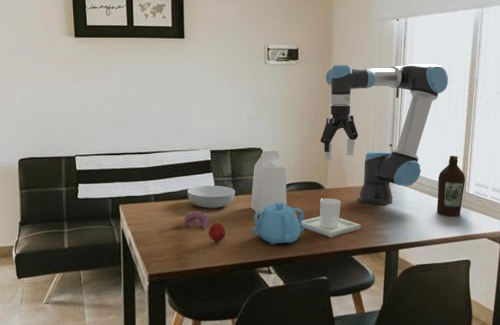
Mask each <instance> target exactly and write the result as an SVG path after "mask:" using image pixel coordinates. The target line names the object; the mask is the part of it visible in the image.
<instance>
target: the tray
mask: <svg viewBox="0 0 500 325" xmlns="http://www.w3.org/2000/svg"><path fill="white" fill-rule="evenodd" d="M320 220H321V219H320V216H316V217H312V218H308V219H303V220H302V223H301V224H303V225H304V230H305V229H306V230H308V231H311V232H314V233H317V234H320V235H321V236H325V237H328V238H334V237H337V236H340V235H344V234H348V233H352V232H356V231H359V230H361V227H362V224H360V223H356V222H353V221H350V220H347V219H344V218H340V217H339V220H338V227H337V228H331V229H330V228H324V227H322V226H320ZM300 228H302V226H300Z"/></svg>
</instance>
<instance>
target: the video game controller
mask: <svg viewBox="0 0 500 325" xmlns="http://www.w3.org/2000/svg"><path fill="white" fill-rule="evenodd" d="M210 219H211V218H210V216H209V215H208V214H207V213H205V212H202V211H196V210H195V211H189V212H188V213H187V214H185V217H184V219H183V222H182V224H181V225H182V228H186V227H187V225H188V224H189V225H190V226H191V227H195V226H197V227H198V228H202V230H203V231H205V230H206V229H207V227H208V225H209V223H210ZM196 220H198V222H197V221H196Z"/></svg>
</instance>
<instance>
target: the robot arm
mask: <svg viewBox="0 0 500 325" xmlns="http://www.w3.org/2000/svg"><path fill="white" fill-rule="evenodd" d="M325 81H326V83H327V84H328V85H329V86H330V92H331V93H330V104H331V105H330V114H331V116H332V117H331V118H330V117H329V118H328V117H327V118H326V120H325V122H326V123H325V126H324V129H323V132H322V134H321V138H320V143H322V144H323V147H324V148H323V151H324V160H325V161H332V145H333V144H332V143H331V142H332V140H333V139H334V136H335V135H336V132H337V131H339V130H340V129H343V131H344V133H345V134H346V137H348V139H347V142H346V146H347V147H346V155H347V156H354V147H355V140H357V138H358V137H359V134H358V130H357V127H356V124H355V120H354V119H355V118H354V115H351V114H350V113H351V106H350V104H351V91H352V90H357V89H369V88H372V87H389V88H391V89H404V90H408V91H410V92H409V93H410V94H411V96H412V97H411V100H410V103H409V107H408V109H407V113H406V117H405V119H404V123H403V127H402V129H401V133H400V137H399V140H398V144H397V146H396V148H395V149H394V150H392V151H387V150H386V151H385V150H384V151H381V150H380V151H378V150H377V151H369V152H367V153H366V155H365V158H364V159H365V160H364V175H363V185H362V186H361V189H360V192H359V195H358V200H359V201H361V202H363V203H367V204H372V205H388V204H392V203H393V195H392V191H391V185H390V183H391V184H394V185H397V186H403V187H409V186H412V185H413V184H415V183H416V182H417V181H418V179H419V178H420V175H421V171H422V170H421V165H420V163H419V162H418V161H419V156H418V155H417V153H418V149H419V146H420V144H421V143H420V142H421V139H422V136H423V132H424V129H425V126H426V122H427V120H428V116H429V114H430V111H431V110H430V109H431V107H432V104H433V102H434V101H435V100H437V99H438V96H439V94H441V93H443V92H444V91H445V90H446V89H447V86H448V82H449V77H448V74H447V71H446V69H445V68H444V67H443V66H441V65H437V64H405V65H398V66H390V67H389V68H352V65H349V64H342V65H341V64H336V65H333V66H332V67H331V68H330V69H328V70H327V73H326V74H325Z"/></svg>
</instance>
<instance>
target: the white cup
mask: <svg viewBox="0 0 500 325" xmlns="http://www.w3.org/2000/svg"><path fill="white" fill-rule="evenodd" d="M341 204H342V201H341V200H339V199H336V198H321V199H320V200H319V217H320V219H321V220H320V226H322V227H324V228H330V229H331V228H337V227H338V220H339V218H340V214H341Z"/></svg>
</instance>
